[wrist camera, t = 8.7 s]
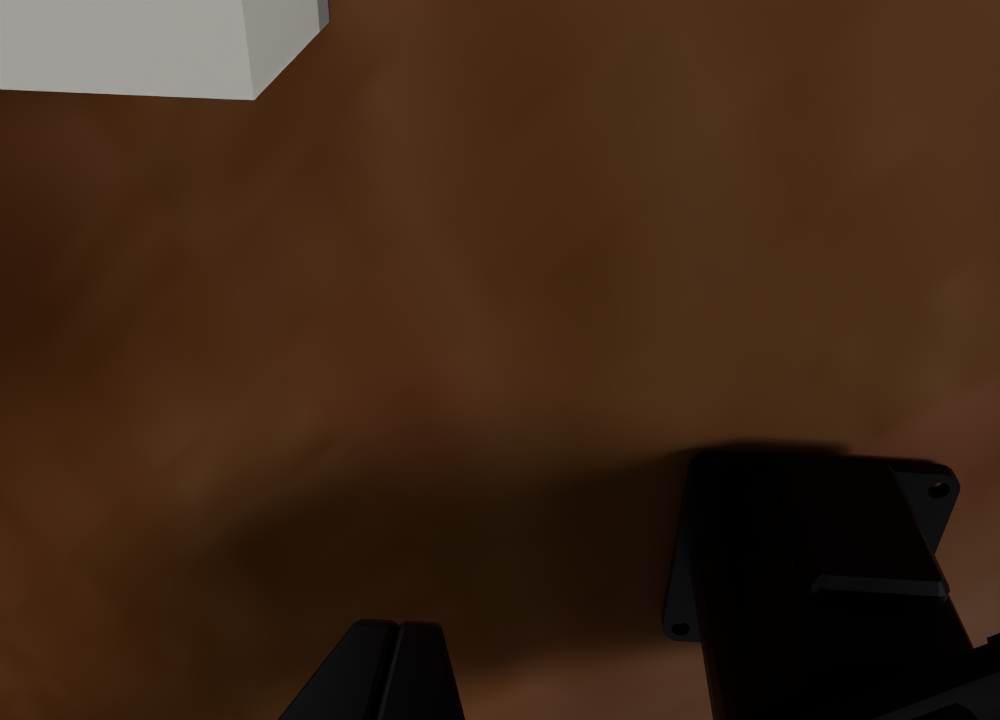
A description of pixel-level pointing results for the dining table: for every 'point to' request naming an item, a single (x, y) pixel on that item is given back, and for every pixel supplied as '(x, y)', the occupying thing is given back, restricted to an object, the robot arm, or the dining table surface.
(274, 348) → the dining table surface
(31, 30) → the case
